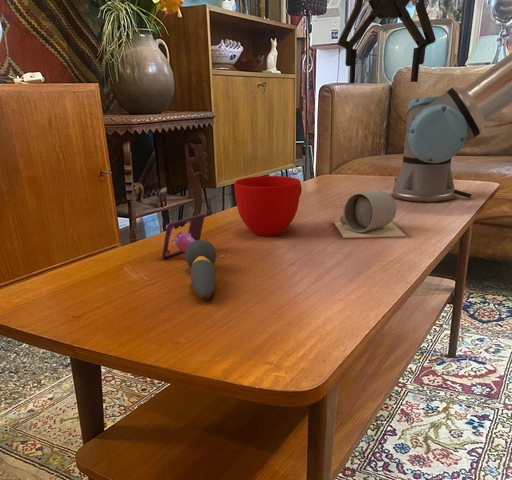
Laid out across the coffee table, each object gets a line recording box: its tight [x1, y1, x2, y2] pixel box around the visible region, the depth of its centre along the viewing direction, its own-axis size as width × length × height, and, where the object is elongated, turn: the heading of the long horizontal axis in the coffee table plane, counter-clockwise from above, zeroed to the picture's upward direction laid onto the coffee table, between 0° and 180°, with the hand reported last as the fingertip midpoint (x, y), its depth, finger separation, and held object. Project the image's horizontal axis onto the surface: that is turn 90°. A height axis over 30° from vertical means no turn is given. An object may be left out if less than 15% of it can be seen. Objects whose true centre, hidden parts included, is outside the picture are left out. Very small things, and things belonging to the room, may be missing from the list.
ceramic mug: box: [340, 190, 397, 233], centre depth 104 cm, size 11×8×8 cm
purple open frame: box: [161, 213, 206, 260], centre depth 91 cm, size 7×5×9 cm
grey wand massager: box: [184, 239, 217, 300], centre depth 79 cm, size 20×5×5 cm, turn 12°
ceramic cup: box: [233, 175, 303, 237], centre depth 105 cm, size 13×17×10 cm
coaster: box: [333, 221, 407, 239], centre depth 105 cm, size 12×12×1 cm
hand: (382, 82), depth 113 cm, fingers open, 13 cm apart
